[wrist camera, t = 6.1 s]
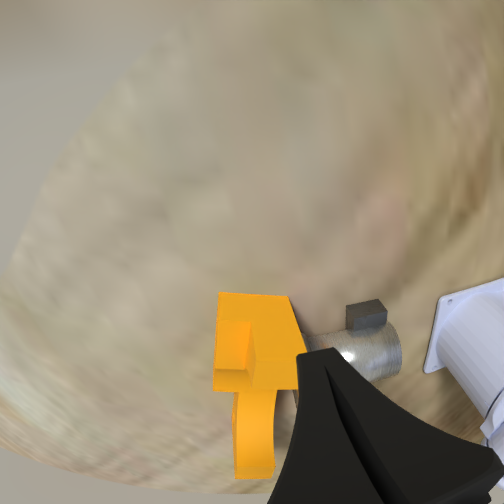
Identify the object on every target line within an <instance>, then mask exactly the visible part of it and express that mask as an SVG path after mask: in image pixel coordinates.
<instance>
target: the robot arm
mask: <svg viewBox="0 0 504 504" xmlns="http://www.w3.org/2000/svg"><path fill="white" fill-rule="evenodd" d="M296 365H297V379H298V392H299V399H298V407H297V414H296V420H295V425H294V430H293V434H292V438H291V442H290V446H289V449H288V453H287V456H286V459H285V462H284V465H283V468H282V470H281V473H280V476H279V478H278V480H277V483H276V485H275V487H274V490H273V492H272V494H271V496H270V499H269V501H268V503H267V504H488V503H490V502H491V497H490V495H489V493H488V492H489V491H490V490H491V489H492V488H493V487H494V486H495V485H496V486H498V487H499V488H500V489H502V490H504V278H501V279H498V280H495V281H492V282H489V283H486V284H482V285H479V286H476V287H473V288H469V289H466V290H463V291H459V292H456V293H452V294H449V295H445V296H443V297H441V298H440V299H439V301H438V305H437V310H436V315H435V321H434V326H433V330H432V335H431V340H430V344H429V348H428V353H427V357H426V361H425V365H424V368H423V370H424V372H425V373H430V372H433V371H436V370H439V369H441V368H444V367H447V368H448V370H449V371H450V372H451V374H452V375H453V376H454V378H455V379H456V380H457V382H458V383H459V384H460V386H461V387H462V389H463V390H464V391H465V393H466V394H467V395H468V397H469V398H470V400H471V401H472V402H473V404H474V405H475V407H476V408H477V409H478V411H479V412H480V414H481V415H482V417H483V418H484V419H485V421H484V423H483V424H482V425H481V426H480V429H481V431H482V432H483V434H484V435H485V437H484V438H483V439H482V441H481V445H479V444H476V443H472V442H469V441H466V440H463V439H460V438H458V437H455V436H453V435H450V434H448V433H446V432H444V431H441V430H439V429H437V428H435V427H433V426H431V425H429V424H427V423H425V422H424V421H422V420H420V419H418V418H417V417H415V416H413V415H412V414H410V413H409V412H407V411H406V410H404V409H402V408H401V407H400V406H398V405H397V404H395V403H394V402H393V401H391V400H390V399H389V398H388V397H386V396H385V395H384V394H382V393H381V392H380V391H379V390H378V389H376V388H375V387H374V386H373V385H372V384H371V383H370V382H369V381H367V380H366V379H365V378H364V377H363V376H362V375H361V374H360V373H359V372H358V371H357V370H356V369H355V368H354V367H353V366H352V365H351V364H350V363H349V362H348V361H347V360H346V359H345V358H344V357H343V356H342V355H341V354H340V352H339V351H338V350H337V349H336V348H334V347H331V348H326V349H321V350H316V351H311V352H306V353H301V354H298V355H297V356H296ZM503 504H504V503H503Z"/></svg>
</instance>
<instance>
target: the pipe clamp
mask: <svg viewBox="0 0 504 504" xmlns="http://www.w3.org/2000/svg"><path fill="white" fill-rule="evenodd" d="M306 352H307V350H306V347H305V344H304V341H303V338H302V335H301V333H300V330H299V327H298V324H297V321H296V318H295V315H294V313H293V310H292V307H291V304H290V301H289V298H288V296H272V295H256V294H240V293H225V292H219V296H218V308H217V322H216V335H215V350H214V365H213V391H221V392H235V394H234V401H233V409H232V434H233V452H234V469H235V479H267V478H271V477H272V474H273V472H274V469H275V467H276V466H275V458H274V446H273V420H274V408H275V400H276V394H277V390H289V389H298V379H297V365H296V356H297V355H298V354H301V353H306Z"/></svg>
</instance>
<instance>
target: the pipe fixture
mask: <svg viewBox="0 0 504 504" xmlns="http://www.w3.org/2000/svg"><path fill="white" fill-rule="evenodd" d="M387 312H388V311H387V310H386V308H385V307H384V306H383V304H382V303H381V302H380V301H379V299H375V300H371V301H366V302H362V303H357V304H352V305H347V306H346V330H342V331H338V332H333V333H328V334H323V335H318V336H313V337H308V338H307V337H306V335H305V334H304V333H301V335H302V338H303V341H304V344H305V347H306V350H307V352H311V351H316V350H321V349H326V348H331V347H334V348H336V349H337V350H338V351H339V352H340V354H341V355H342V356H343V357H344V358H345V359H346V360H347V361H348V362H349V363H350V364H351V365H352V366H353V367H354V368H355V369H356V370H357V371H358V372H359V373H360V374H361V375H362V376H363V377H364V378H365V379H366V380H367V381H369V382H374V381H377V380H381V379H384V378H388V377H391V376H395V375H397V374H398V373H399V371H400V369H401V364H402V352H401V345H400V341H399V338H398V335H397V333H396V330H395V329H394V327H393V325H392V324H391V323H390V322H388V321H387ZM293 394H294V399H295V403H296V408H297V407H298V399H299V392H298V389H293Z"/></svg>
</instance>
